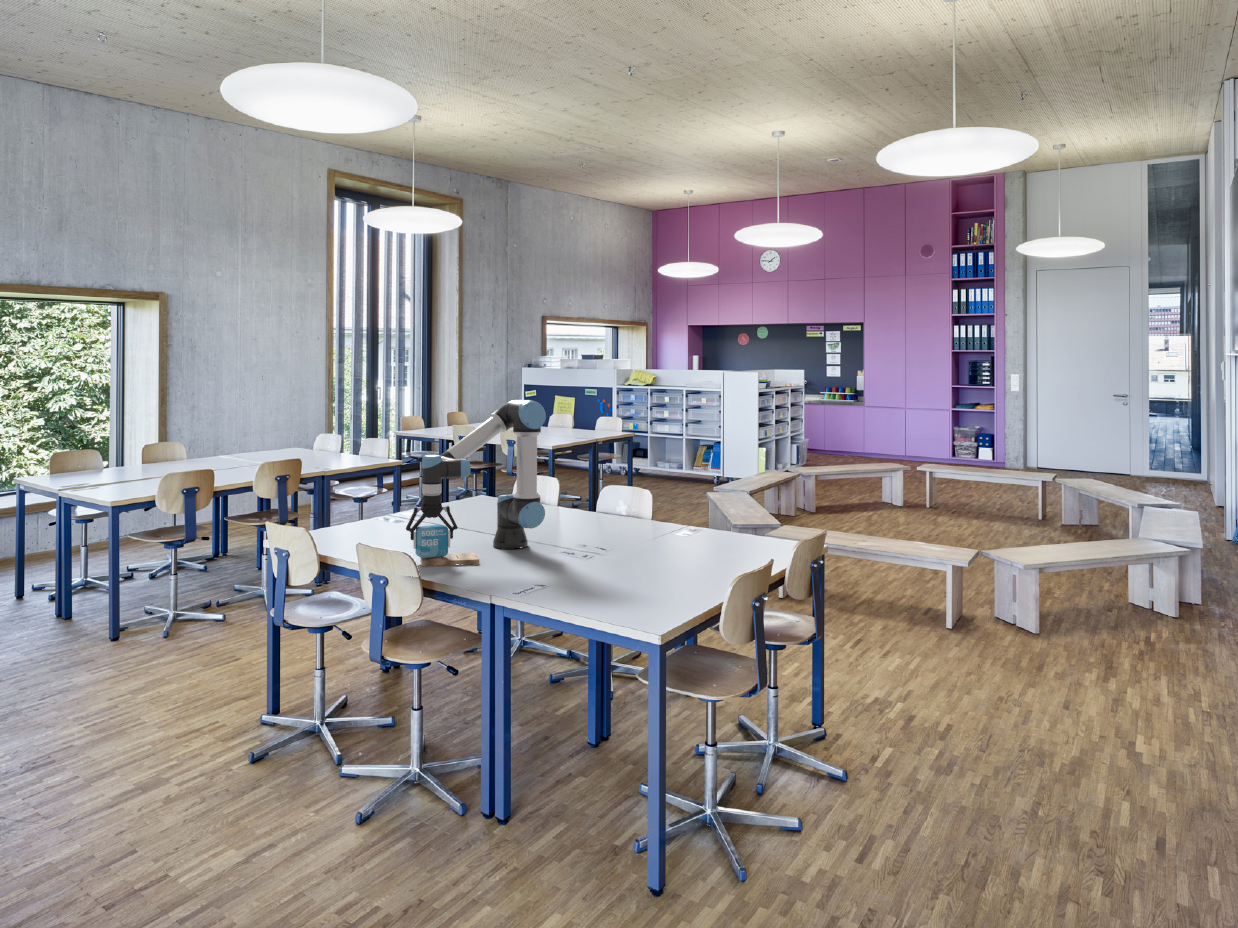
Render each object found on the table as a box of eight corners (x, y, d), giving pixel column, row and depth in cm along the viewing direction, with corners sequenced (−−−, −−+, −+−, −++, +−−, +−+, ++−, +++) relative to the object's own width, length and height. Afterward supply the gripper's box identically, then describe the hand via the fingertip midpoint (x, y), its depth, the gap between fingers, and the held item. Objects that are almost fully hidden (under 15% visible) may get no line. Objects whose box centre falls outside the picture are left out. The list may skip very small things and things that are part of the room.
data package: (419, 558, 326) (419, 528, 325) (415, 556, 329) (415, 526, 328) (448, 555, 332) (448, 526, 331) (444, 553, 336) (444, 524, 335)
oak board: (475, 557, 343) (475, 552, 342) (479, 564, 330) (479, 559, 330) (420, 559, 336) (420, 554, 336) (422, 566, 324) (422, 561, 324)
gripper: (462, 492, 336) (462, 544, 338) (399, 493, 328) (399, 546, 331) (464, 494, 328) (464, 548, 331) (399, 496, 321) (400, 550, 323)
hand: (431, 547), depth 331 cm, fingers closed on data package, 13 cm apart
